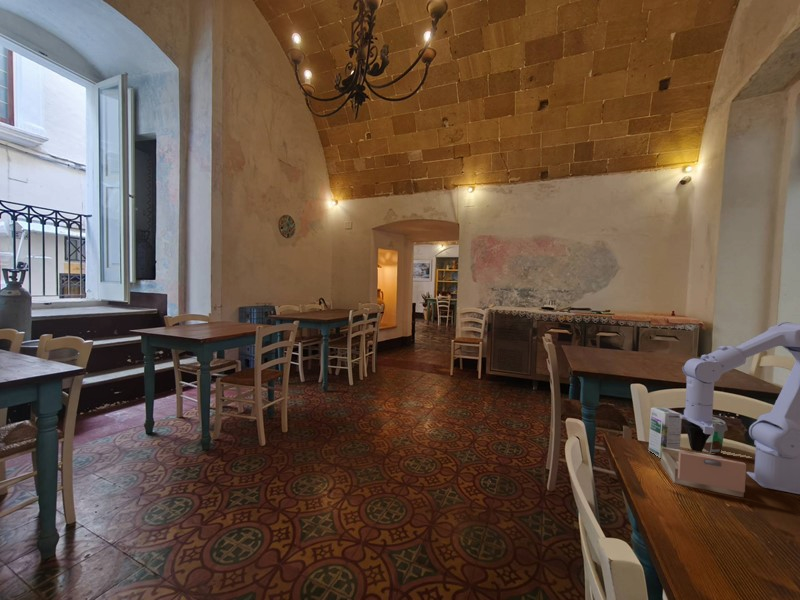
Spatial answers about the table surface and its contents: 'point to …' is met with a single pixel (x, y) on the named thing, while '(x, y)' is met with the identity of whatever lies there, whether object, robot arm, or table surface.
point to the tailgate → (712, 471)
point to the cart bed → (671, 466)
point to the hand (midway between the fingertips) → (696, 450)
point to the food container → (716, 436)
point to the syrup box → (664, 430)
